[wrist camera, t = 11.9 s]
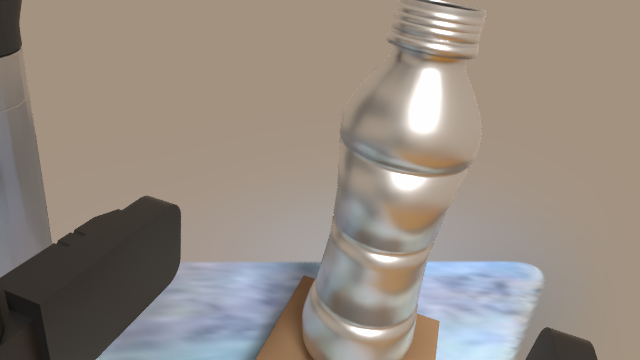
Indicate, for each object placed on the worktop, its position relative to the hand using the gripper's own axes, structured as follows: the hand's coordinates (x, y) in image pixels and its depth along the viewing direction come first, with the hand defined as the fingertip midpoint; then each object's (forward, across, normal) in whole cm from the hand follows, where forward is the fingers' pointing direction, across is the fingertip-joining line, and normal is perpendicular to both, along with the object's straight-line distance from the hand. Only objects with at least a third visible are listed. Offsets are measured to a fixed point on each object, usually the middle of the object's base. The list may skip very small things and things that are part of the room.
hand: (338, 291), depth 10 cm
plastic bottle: (+12, 0, +15) cm, 19 cm away
